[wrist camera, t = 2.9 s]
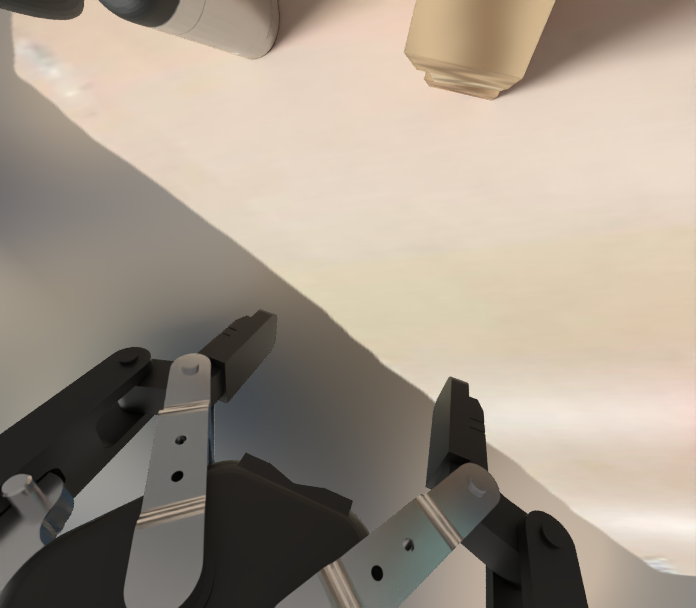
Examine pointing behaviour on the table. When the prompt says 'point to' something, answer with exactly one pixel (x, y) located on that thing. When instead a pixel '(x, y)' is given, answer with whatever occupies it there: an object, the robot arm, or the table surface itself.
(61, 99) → the table surface
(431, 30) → the block
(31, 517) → the robot arm
